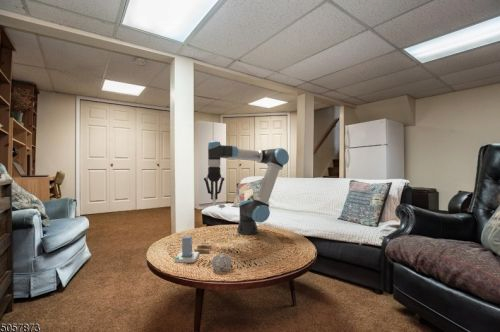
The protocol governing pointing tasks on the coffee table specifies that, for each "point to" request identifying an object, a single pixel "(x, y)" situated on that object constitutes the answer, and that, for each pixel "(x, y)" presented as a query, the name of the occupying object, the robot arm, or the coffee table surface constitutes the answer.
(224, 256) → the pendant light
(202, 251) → the wooden rail base
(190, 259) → the port
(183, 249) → the plug
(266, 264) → the coffee table surface
